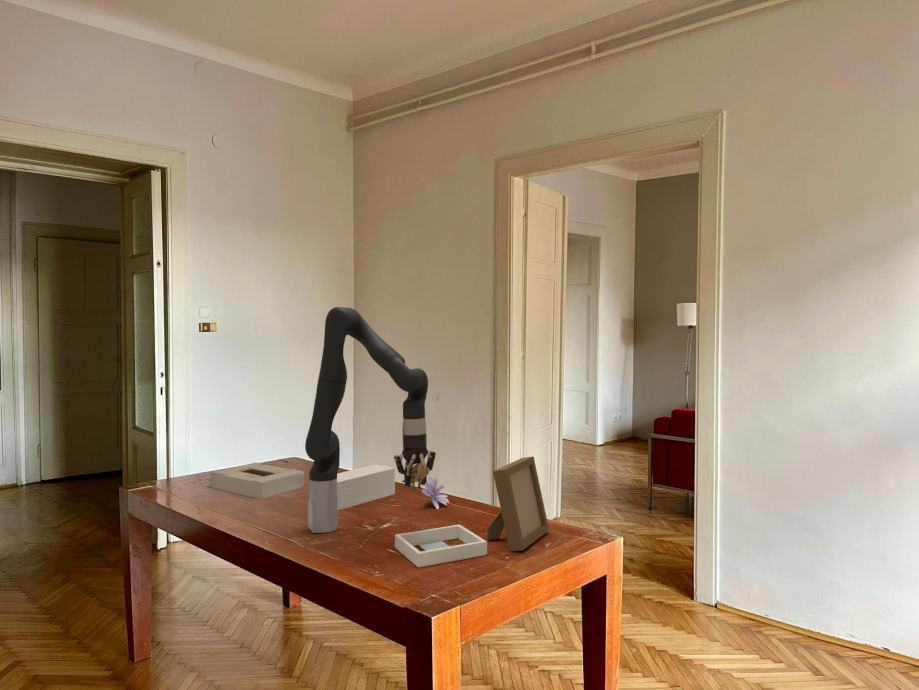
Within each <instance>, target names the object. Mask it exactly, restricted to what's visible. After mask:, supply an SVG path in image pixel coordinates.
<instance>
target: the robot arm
mask: <svg viewBox="0 0 919 690" xmlns="http://www.w3.org/2000/svg"><path fill="white" fill-rule="evenodd" d="M324 324H325V325H324V335H323V338H324V339H323V348H322V354H321V355H322V356H321V362H320V369H319V373H318V377H317V378H318V379H317V384H316V391H315V392H316V393H315V397H314V405H313V409H312V410H313V411H312V415H311V416H312V417H311V420H310V425H309V429H308V432H307V434H306V438H305V442H304V444H305V445H304V449H305V453H306V455H307V457H309V459H310V460H312V461H313V463H312V466H311V468H310V470H309V472H308V473H309V474H308V479H309V480H308V481H309V482H308V483H309V485H308V486H309V487H308V489H309V490H308V491H309V493H308V494H309V499H308V500H307V528H308V530H309V531H310V532H311V533H312V534H315V533H317V534H318V533H319V534H320V533H321V534H322V533H323V534H324V533H325V534H326V533H332V532H335V531H337V530H338V526H339V521H338V517H339V516H338V511H339V510H338V506H337V474H338V472H339V469H340V459H341V458H340V456H341V455H340V453H341V446H340V439H339V436H338V434H336V432H335V431H333V430H332V428H333V424H334V419H335V416H336V414H337V412H338V410H339V408H340V406H341V404H342V402H343V399H344V396H345V392H346V387H347V380H348V371H347V366H346V363H345V357H344V347H345V341H346V336H349V337H352V339H355V340H357V342H359V343H360V344H361V345H362V346H363V347H364V349H366V351H367V352H368V355H369V357H370V358H371V359H372V360H373V362H375V363H376V364H377V365H378V366H379V367H380V368H381V369H383V371H385V372H386V373H388V375H389V377H390V378H391V379H392V381H393V382H394V383H395V385H396V386H397V387H398V388H399V389H400V390H401V391H404V392H406V393H407V397H406V399H405V400H404V401H403V403H402V426H401V427H402V429H401V432H402V452H401V453H399V454H398V455H393V459H394V462H395V464H396V469H397V472H398V473H399V474H401V475H403V476H404V479H403V480H404V482H403V483H404V484H405V485H406V486H407V487H406V488H412V484H411V476H410V472H411V469H412V467H413V466H415V465H416V464H418V463H425V466H426V467H427V468H429V469H430V472H431V471H432V470H433V467H434V464H435V459H436V456H437V455H436V454H437V453H436V452H435V451H432V450H429V449H428V448H427V445H428V443H427V423H426V422H427V421H426V401H427V395H428V388H429V377H428V375H427V373H426V371H424V370H423V369H422V368H416V367H415V368H409V367H408V366H407V365H406V360H405V358H404V356H402V355H401V354H400V353H399V352H398V351H397V350H395V349H394V348H393V347H392V346H391V345H390V344H389V343H387V342H386V341H385V340H384V339H383V338H382V337H380V336H379V334H377V332H376V331H375V330H374V329H373V328H372V327H371V325H369V324H368V323H367V321H366V320H365V319H364V317H363V316H362V315H361V314H360V313H359V312H358V311H357V310H356V309H354V308H352V307H345V306H344V307H343V306H335V307H332V308H331V309H330V310H329V311H328V312H327V314H326V318H325V322H324ZM426 457H427V460H426V461H425V459H426ZM403 459H404V460H405V463H404V465H403ZM427 476H428V475H426V476H425V478H423V480H422V481H421V485H422V486H425V483H426V482H428V480H427V479H428V477H427Z"/></svg>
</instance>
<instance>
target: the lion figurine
mask: <svg viewBox="0 0 919 690" xmlns="http://www.w3.org/2000/svg"><path fill="white" fill-rule="evenodd" d="M425 464H426V462H425V463H418V464H414V465H413V467H412V469H411V472H410V476H411V492H416V486H415V485H416V483H417V489H418V490H419V491H422V489H423V487H421V481H422V480H423V478H425V476H426V475H427V476H429V474H430V472H431V471H430V469H429V468H427V467H426V466H425ZM401 482H402V483H404V479H403V480H402V481H401ZM403 487H404V488H408V487H407V486H406V485H405V483H404V485H403Z"/></svg>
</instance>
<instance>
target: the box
mask: <svg viewBox="0 0 919 690" xmlns="http://www.w3.org/2000/svg"><path fill="white" fill-rule="evenodd" d="M210 487H211V489H216V490H221V491H224V492H228V493H233V494H238V495H242V496H246V497H250V498H251V497H252V498H255V499H260V500H261V499H264V498H268V497H272V496H274V495H275V496H276V495H279V494H283V493H287V492H290V491H293V490H298V489H300V488H304V487H305V472H304V471H302V470H300V469H294V468H291V469H290V468H285V467H284V468H283V467H278V466H273V465H268V464H265V463H261V462H251V463H247V464H243V465H240V466H239V465H238V466H235V467H231V468H227V469H223V470H216V471H212V472H211V473H210Z"/></svg>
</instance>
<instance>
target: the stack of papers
mask: <svg viewBox="0 0 919 690" xmlns="http://www.w3.org/2000/svg"><path fill="white" fill-rule="evenodd" d="M395 494H396V468H395V467H392V466H387V465H382V464H377V463H376V464H373V465H367V466H364V467H359V468H355V469H351V470H346V471H342V472H339V473H338V472H337V506H338V511H340V510H344V509H347V508H350V507H354V506H357V505H360V504H361V505H362V504H365V503H369V502H372V501H375V500H379V499H382V498H386V497H389V496H393V495H395Z"/></svg>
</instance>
